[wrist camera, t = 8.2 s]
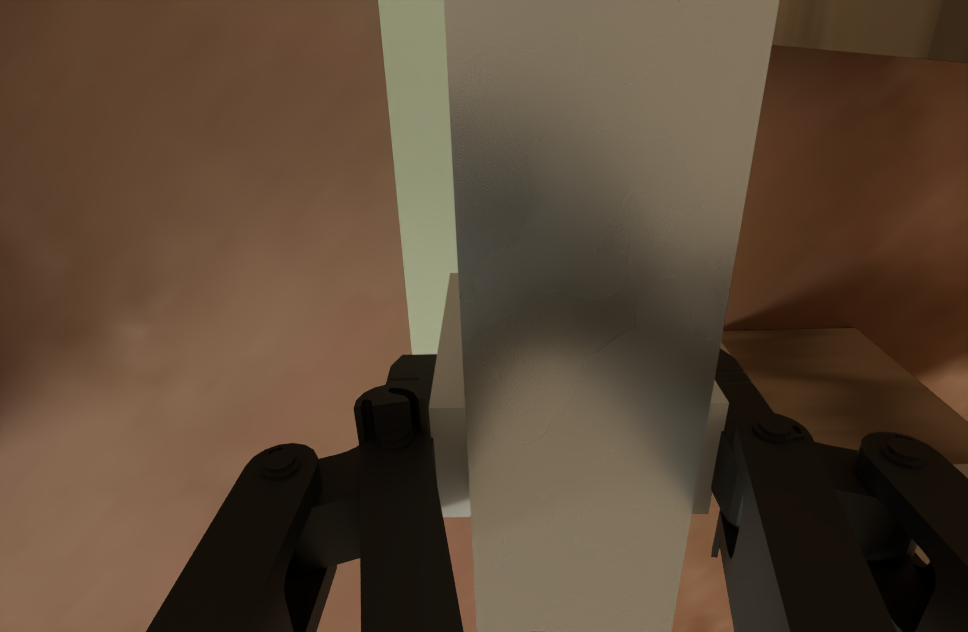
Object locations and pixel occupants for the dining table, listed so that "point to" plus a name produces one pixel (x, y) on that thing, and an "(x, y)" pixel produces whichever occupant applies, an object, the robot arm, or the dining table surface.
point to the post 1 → (877, 27)
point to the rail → (594, 287)
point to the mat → (421, 158)
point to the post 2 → (845, 389)
